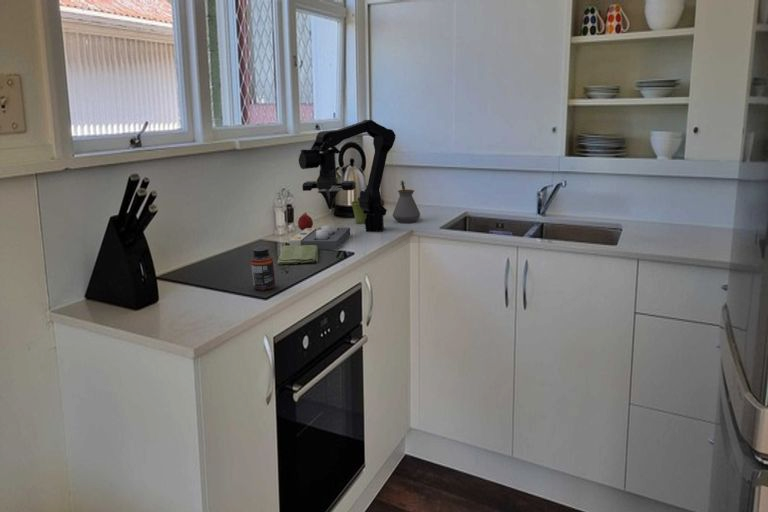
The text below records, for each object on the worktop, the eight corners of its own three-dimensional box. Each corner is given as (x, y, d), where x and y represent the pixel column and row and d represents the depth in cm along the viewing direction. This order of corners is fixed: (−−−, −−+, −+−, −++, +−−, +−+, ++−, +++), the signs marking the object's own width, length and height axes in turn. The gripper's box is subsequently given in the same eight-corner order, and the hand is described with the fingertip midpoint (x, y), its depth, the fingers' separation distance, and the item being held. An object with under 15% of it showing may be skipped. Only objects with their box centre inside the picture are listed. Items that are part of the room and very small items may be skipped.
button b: (334, 234, 219) (333, 225, 218) (331, 237, 215) (330, 227, 214) (323, 234, 219) (322, 225, 218) (320, 237, 216) (319, 227, 215)
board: (350, 235, 227) (350, 227, 226) (336, 249, 206) (336, 241, 205) (319, 235, 229) (319, 227, 228) (302, 249, 208) (302, 241, 207)
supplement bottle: (264, 283, 171) (261, 244, 168) (279, 286, 168) (276, 247, 165) (249, 289, 166) (245, 249, 163) (264, 292, 163) (260, 252, 160)
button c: (329, 239, 212) (328, 229, 211) (326, 242, 208) (325, 231, 207) (318, 239, 213) (317, 229, 212) (315, 242, 209) (314, 231, 208)
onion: (310, 234, 232) (309, 213, 230) (296, 234, 233) (295, 213, 231) (315, 230, 237) (313, 211, 235) (301, 230, 238) (300, 211, 236)
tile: (316, 235, 228) (316, 227, 228) (301, 248, 209) (300, 239, 209) (306, 235, 229) (305, 227, 228) (290, 248, 210) (289, 239, 209)
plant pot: (373, 224, 245) (373, 203, 243) (350, 225, 246) (349, 204, 243) (374, 219, 254) (373, 199, 252) (352, 220, 255) (351, 200, 252)
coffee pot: (421, 223, 244) (421, 186, 240) (393, 224, 243) (392, 188, 239) (416, 213, 264) (415, 179, 261) (390, 214, 264) (389, 181, 260)
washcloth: (276, 267, 189) (275, 257, 188) (282, 253, 206) (281, 244, 205) (318, 265, 190) (317, 255, 189) (320, 251, 207) (319, 242, 206)
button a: (338, 236, 226) (338, 226, 225) (336, 238, 222) (335, 228, 221) (328, 235, 227) (328, 226, 226) (325, 238, 223) (325, 228, 222)
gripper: (296, 169, 211) (299, 213, 215) (348, 168, 208) (350, 213, 212) (305, 166, 222) (308, 207, 226) (354, 165, 219) (356, 207, 223)
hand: (330, 209), depth 221 cm, fingers closed
